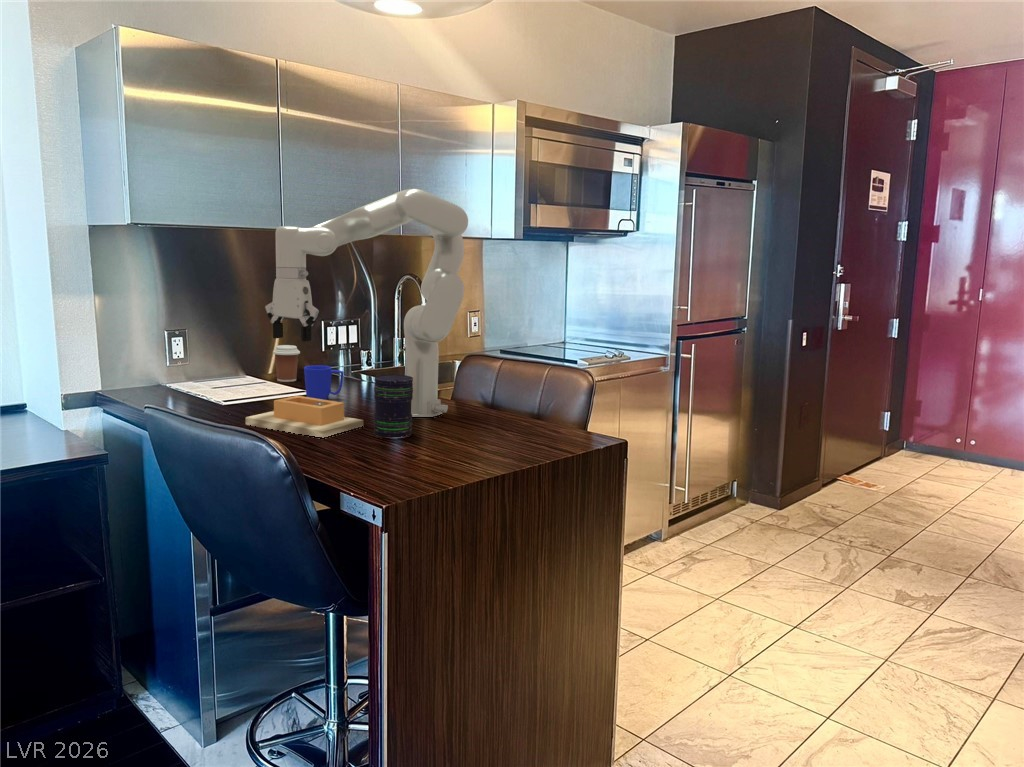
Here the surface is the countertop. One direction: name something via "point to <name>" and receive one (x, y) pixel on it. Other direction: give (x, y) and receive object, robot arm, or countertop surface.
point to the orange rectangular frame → (308, 410)
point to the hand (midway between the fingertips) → (292, 339)
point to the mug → (320, 381)
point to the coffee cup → (286, 362)
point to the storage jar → (393, 405)
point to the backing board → (302, 425)
